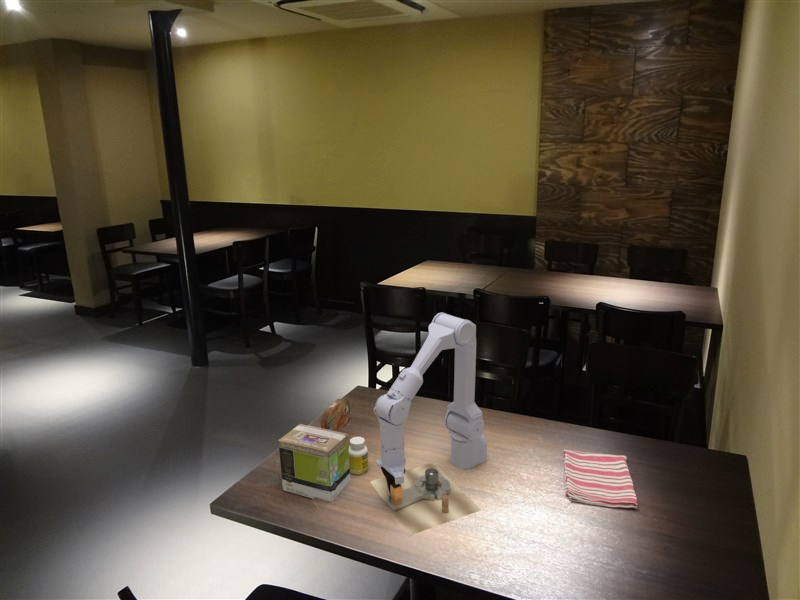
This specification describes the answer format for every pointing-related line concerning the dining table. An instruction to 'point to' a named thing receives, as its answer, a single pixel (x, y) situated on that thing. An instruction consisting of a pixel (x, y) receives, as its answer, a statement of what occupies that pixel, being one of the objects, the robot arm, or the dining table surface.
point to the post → (431, 480)
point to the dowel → (445, 503)
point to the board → (427, 502)
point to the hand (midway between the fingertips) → (393, 492)
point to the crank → (415, 493)
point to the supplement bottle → (358, 456)
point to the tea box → (314, 462)
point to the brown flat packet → (336, 415)
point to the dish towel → (598, 479)
